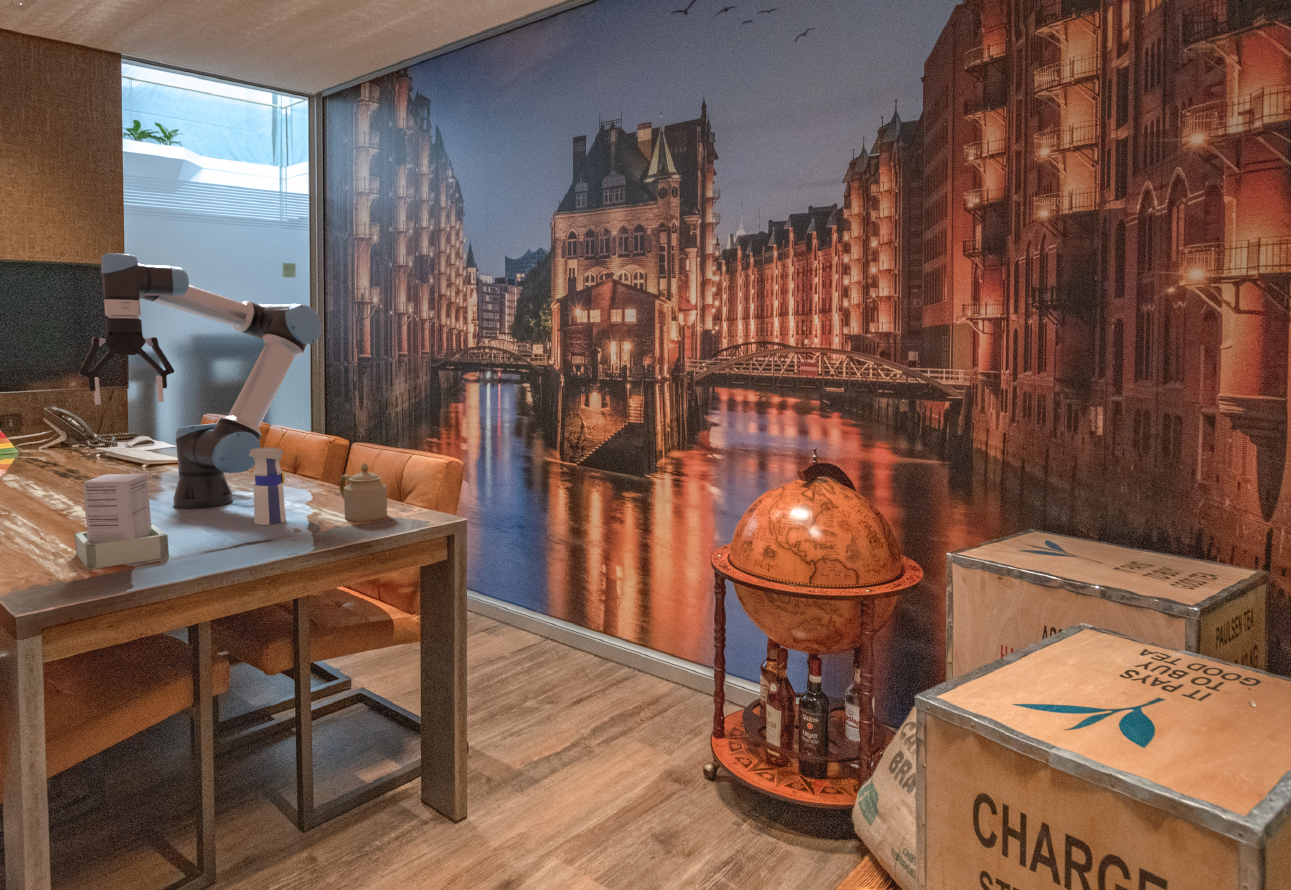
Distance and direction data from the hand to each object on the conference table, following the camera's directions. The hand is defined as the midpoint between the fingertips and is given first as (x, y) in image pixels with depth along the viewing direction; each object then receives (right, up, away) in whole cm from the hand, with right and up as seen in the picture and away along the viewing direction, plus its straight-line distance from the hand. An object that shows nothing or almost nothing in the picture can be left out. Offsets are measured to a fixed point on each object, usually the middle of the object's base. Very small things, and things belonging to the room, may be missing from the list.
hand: (130, 402), depth 203 cm
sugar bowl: (+52, -30, +17) cm, 63 cm away
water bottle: (+30, -31, +11) cm, 45 cm away
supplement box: (+13, -35, -24) cm, 44 cm away
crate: (+13, -35, -24) cm, 45 cm away
